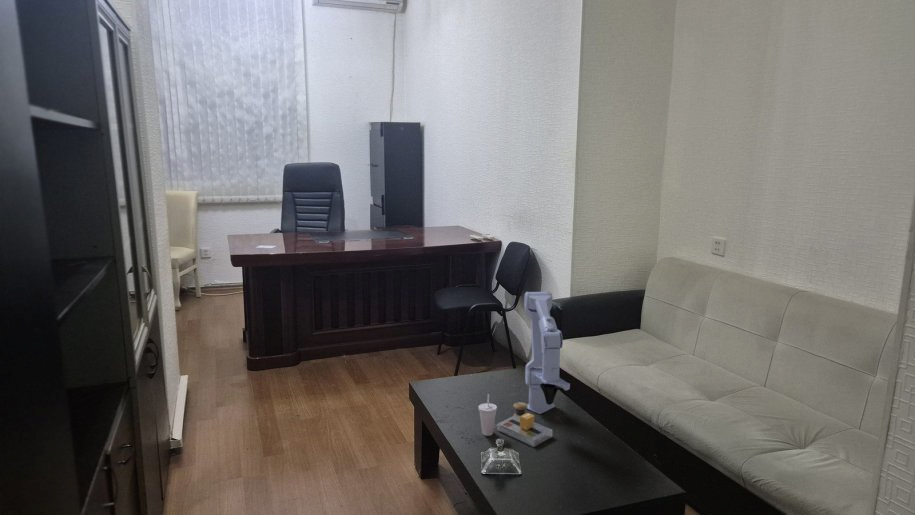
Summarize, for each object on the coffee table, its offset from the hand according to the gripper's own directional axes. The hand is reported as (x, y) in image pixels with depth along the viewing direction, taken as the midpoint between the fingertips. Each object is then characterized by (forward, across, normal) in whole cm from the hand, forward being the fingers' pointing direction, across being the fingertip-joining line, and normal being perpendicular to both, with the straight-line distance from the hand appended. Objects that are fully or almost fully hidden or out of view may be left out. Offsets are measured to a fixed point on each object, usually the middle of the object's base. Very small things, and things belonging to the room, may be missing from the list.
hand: (549, 403), depth 203 cm
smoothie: (+11, -14, -16) cm, 24 cm away
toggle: (+8, -4, -7) cm, 11 cm away
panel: (+10, -5, -7) cm, 13 cm away
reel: (+10, -14, +2) cm, 18 cm away
